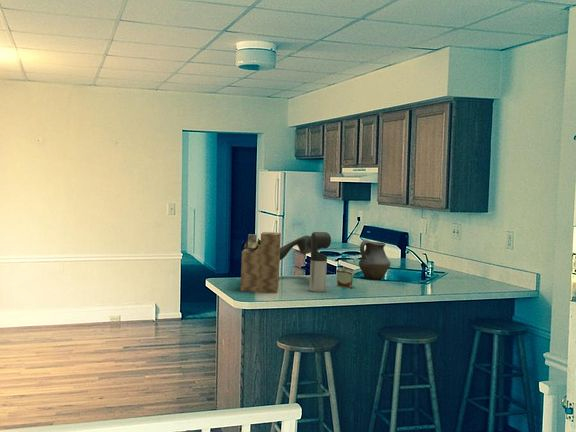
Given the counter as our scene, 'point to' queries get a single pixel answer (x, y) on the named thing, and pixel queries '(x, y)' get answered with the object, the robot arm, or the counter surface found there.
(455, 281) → the counter surface
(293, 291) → the counter surface
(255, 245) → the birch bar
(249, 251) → the walnut step stand
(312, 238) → the robot arm
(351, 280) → the food container
